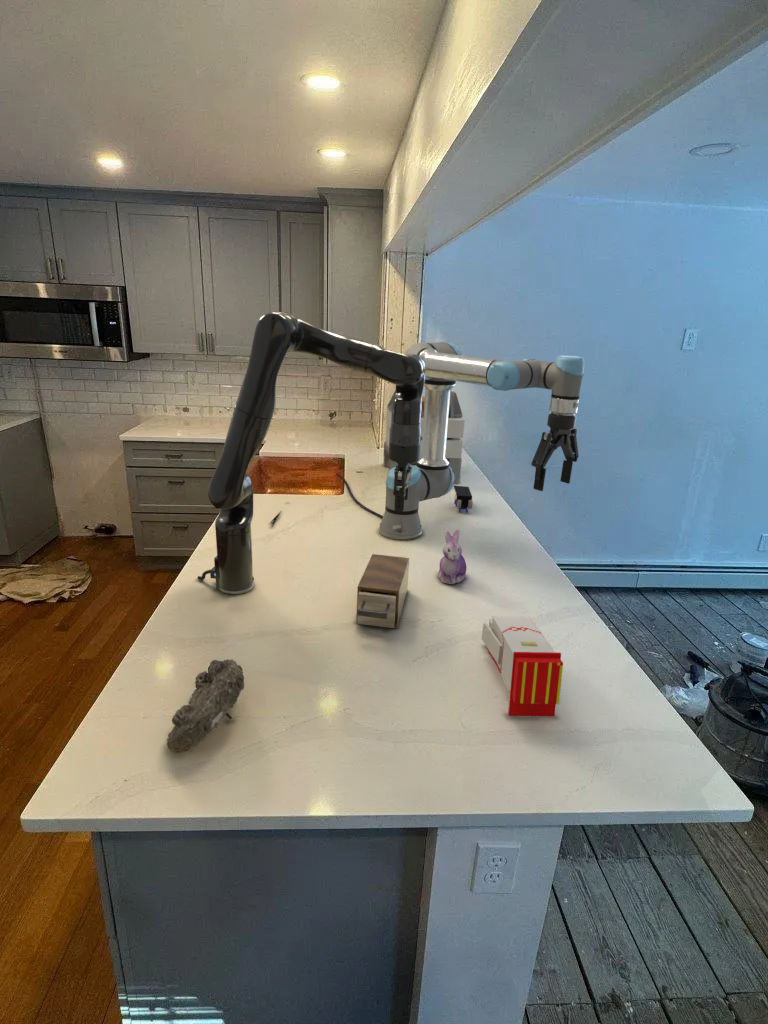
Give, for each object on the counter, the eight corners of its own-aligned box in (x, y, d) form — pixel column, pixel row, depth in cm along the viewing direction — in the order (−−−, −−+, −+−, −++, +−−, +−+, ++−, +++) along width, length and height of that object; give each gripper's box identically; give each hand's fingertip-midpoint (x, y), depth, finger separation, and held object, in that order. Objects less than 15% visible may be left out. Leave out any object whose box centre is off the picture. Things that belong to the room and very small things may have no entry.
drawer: (390, 641, 134) (391, 610, 131) (352, 636, 135) (352, 605, 132) (403, 593, 156) (405, 565, 154) (371, 589, 158) (372, 562, 155)
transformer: (382, 463, 289) (386, 382, 275) (445, 464, 293) (451, 384, 279) (390, 482, 257) (394, 392, 243) (460, 483, 261) (468, 394, 247)
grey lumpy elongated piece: (192, 660, 117) (244, 628, 112) (224, 691, 120) (276, 661, 115) (142, 746, 98) (202, 712, 93) (182, 779, 101) (242, 748, 96)
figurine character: (472, 517, 222) (467, 501, 236) (475, 500, 219) (469, 484, 233) (455, 517, 222) (451, 500, 236) (457, 499, 219) (452, 484, 232)
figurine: (448, 588, 162) (452, 539, 157) (429, 573, 171) (432, 527, 166) (475, 582, 166) (480, 534, 161) (455, 568, 175) (459, 522, 170)
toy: (528, 601, 136) (572, 659, 107) (523, 653, 139) (565, 722, 110) (478, 600, 136) (508, 657, 107) (474, 652, 139) (503, 722, 109)
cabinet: (397, 627, 141) (399, 591, 138) (356, 622, 143) (357, 586, 139) (407, 591, 160) (409, 557, 156) (371, 586, 161) (372, 553, 158)
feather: (288, 505, 226) (290, 501, 226) (271, 529, 199) (273, 524, 199) (284, 503, 226) (287, 499, 225) (266, 526, 199) (269, 522, 199)
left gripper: (393, 433, 142) (390, 494, 148) (384, 446, 129) (381, 513, 135) (423, 435, 141) (418, 497, 147) (417, 448, 128) (413, 516, 134)
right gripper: (548, 419, 148) (537, 496, 155) (598, 411, 163) (586, 482, 171) (524, 414, 153) (515, 489, 160) (575, 407, 169) (564, 476, 176)
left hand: (401, 504), depth 141 cm, fingers open, 8 cm apart
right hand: (551, 486), depth 166 cm, fingers open, 13 cm apart
